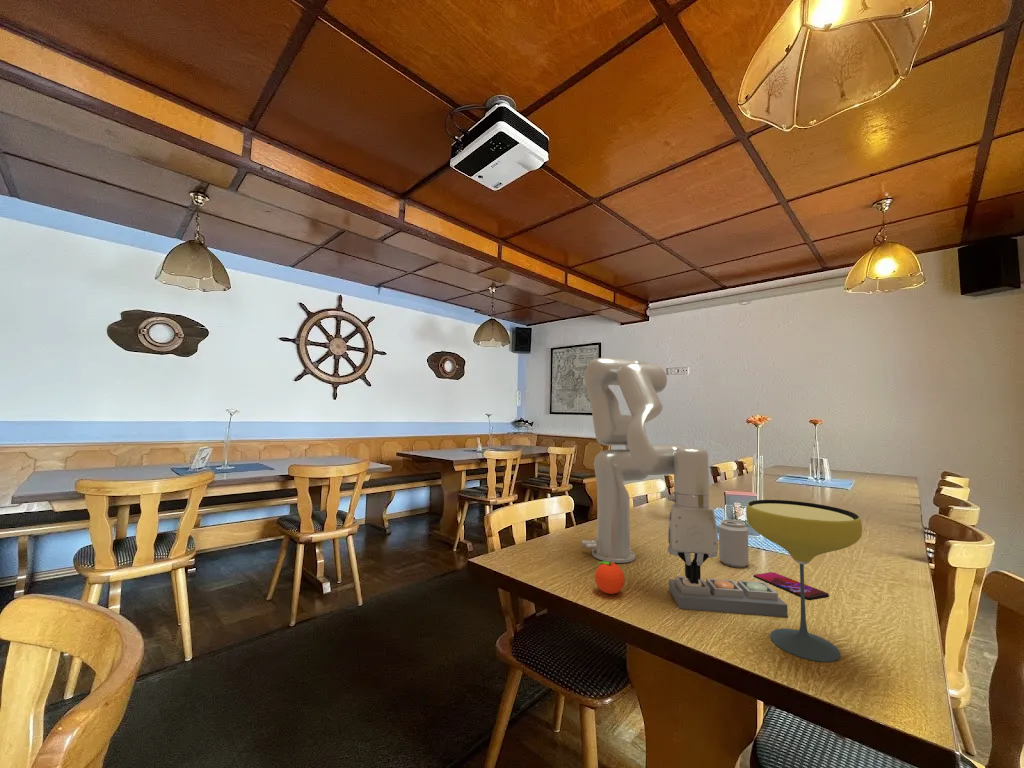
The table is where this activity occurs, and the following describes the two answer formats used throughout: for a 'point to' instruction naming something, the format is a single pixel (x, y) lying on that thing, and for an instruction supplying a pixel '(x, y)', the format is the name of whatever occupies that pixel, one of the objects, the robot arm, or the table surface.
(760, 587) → the sage button
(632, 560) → the robot arm
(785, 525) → the cocktail glass
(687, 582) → the cream button
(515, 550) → the table surface
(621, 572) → the clementine
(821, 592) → the smartphone
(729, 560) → the can
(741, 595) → the button panel
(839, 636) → the table surface
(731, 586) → the terracotta button
